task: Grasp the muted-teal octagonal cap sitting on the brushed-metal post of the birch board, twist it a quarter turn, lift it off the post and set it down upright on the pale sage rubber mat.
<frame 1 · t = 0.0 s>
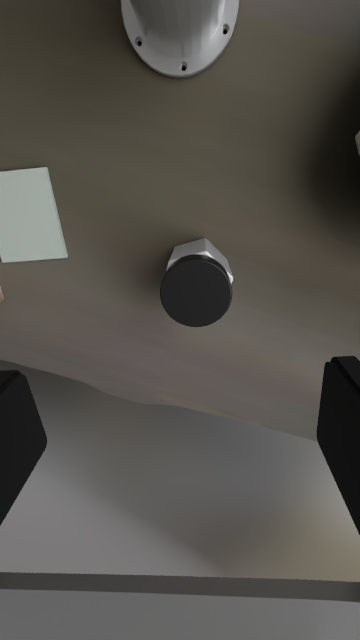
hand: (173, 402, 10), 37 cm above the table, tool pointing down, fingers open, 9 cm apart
jar: (197, 267, 45), on the table
mat: (24, 217, 44), on the table
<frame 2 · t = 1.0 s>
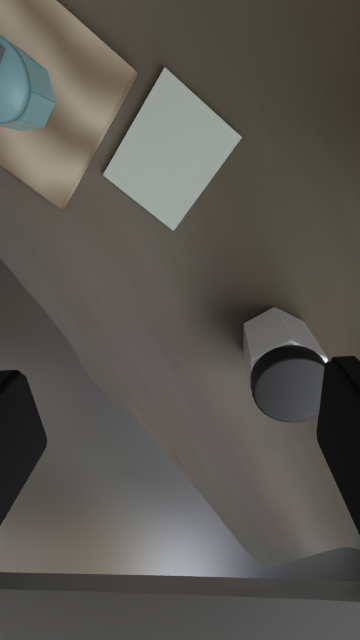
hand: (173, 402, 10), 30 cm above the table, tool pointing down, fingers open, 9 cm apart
cap: (22, 92, 29), point 4 cm above the table, touching post base
jar: (272, 336, 42), on the table
post base: (43, 102, 33), on the table
mat: (170, 157, 34), on the table
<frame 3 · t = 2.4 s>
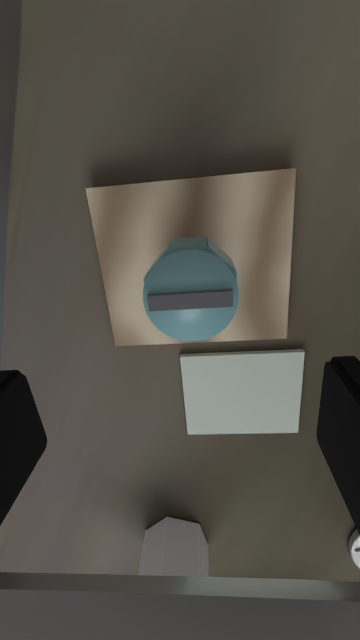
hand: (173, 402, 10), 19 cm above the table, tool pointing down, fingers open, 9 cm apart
cap: (192, 277, 24), point 4 cm above the table, touching post base
jar: (176, 535, 43), on the table
post base: (194, 264, 27), on the table
mat: (240, 392, 33), on the table
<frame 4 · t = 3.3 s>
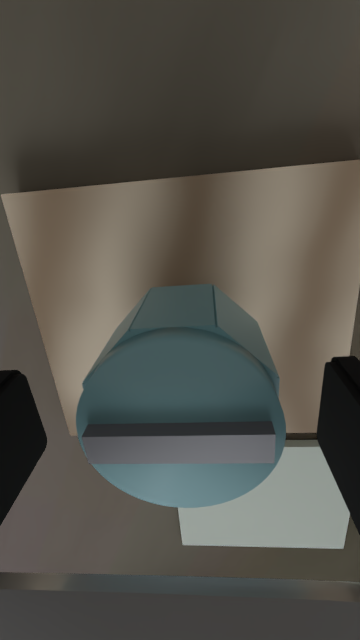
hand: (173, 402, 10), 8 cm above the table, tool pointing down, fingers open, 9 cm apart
cap: (187, 351, 13), point 4 cm above the table, touching post base
post base: (191, 316, 17), on the table
mat: (260, 493, 22), on the table
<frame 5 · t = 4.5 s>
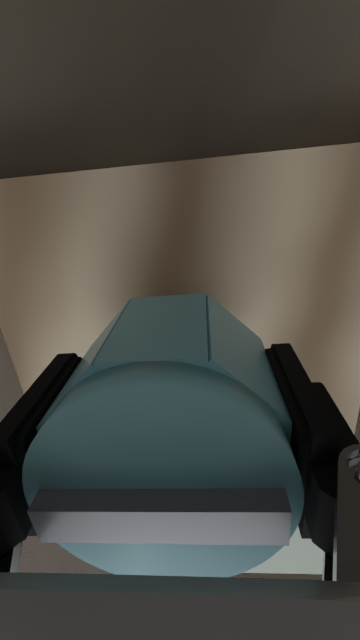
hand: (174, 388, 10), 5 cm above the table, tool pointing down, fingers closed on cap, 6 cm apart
cap: (176, 373, 11), point 4 cm above the table, touching gripper, post base
post base: (182, 326, 15), on the table
mat: (261, 517, 20), on the table
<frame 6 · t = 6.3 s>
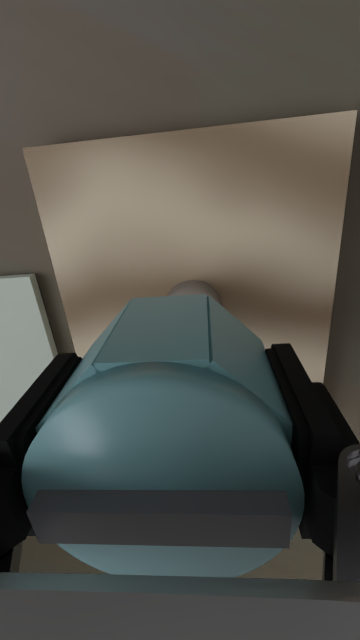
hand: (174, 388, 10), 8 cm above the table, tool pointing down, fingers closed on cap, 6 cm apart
cap: (176, 374, 11), point 7 cm above the table, touching gripper
post base: (194, 297, 17), on the table
when the fingers open (3 cm above the table, at t = 12.4 s): cap drops 1 cm, resting on mat.
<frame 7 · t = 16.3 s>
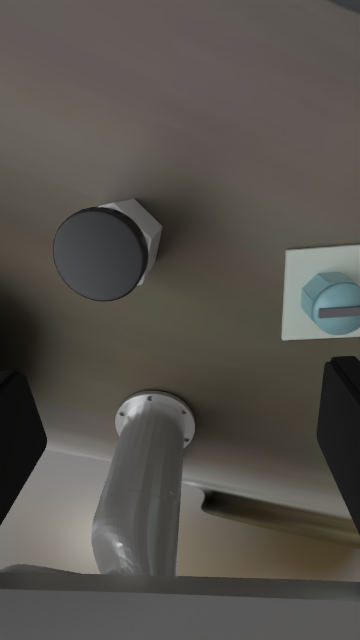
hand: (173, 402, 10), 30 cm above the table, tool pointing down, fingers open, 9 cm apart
cap: (325, 295, 39), point 1 cm above the table, touching mat
jar: (128, 236, 38), on the table
mat: (323, 294, 39), on the table
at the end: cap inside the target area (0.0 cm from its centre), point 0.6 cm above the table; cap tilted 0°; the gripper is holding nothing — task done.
